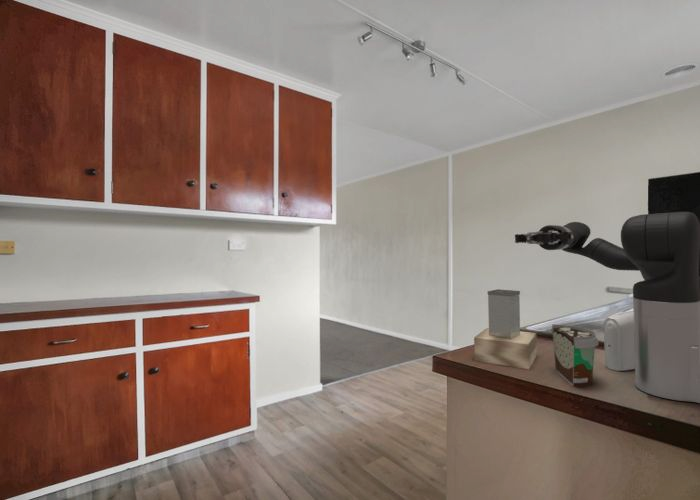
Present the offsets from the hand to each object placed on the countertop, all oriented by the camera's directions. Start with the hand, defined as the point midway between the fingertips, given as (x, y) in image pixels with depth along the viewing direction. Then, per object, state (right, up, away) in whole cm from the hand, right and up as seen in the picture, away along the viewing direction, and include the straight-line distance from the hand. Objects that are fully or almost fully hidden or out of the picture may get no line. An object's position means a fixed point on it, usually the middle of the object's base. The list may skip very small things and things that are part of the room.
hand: (532, 237), depth 96 cm
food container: (-3, -30, -24) cm, 39 cm away
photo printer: (+12, -30, -18) cm, 37 cm away
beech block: (-12, -31, -9) cm, 34 cm away
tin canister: (-12, -25, -9) cm, 29 cm away
